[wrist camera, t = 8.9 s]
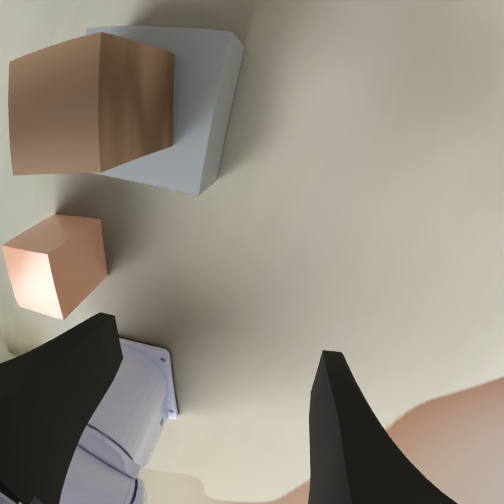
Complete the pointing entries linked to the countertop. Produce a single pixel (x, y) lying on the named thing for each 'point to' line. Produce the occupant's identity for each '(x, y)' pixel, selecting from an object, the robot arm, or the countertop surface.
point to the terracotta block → (56, 264)
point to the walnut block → (89, 105)
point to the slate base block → (188, 105)
